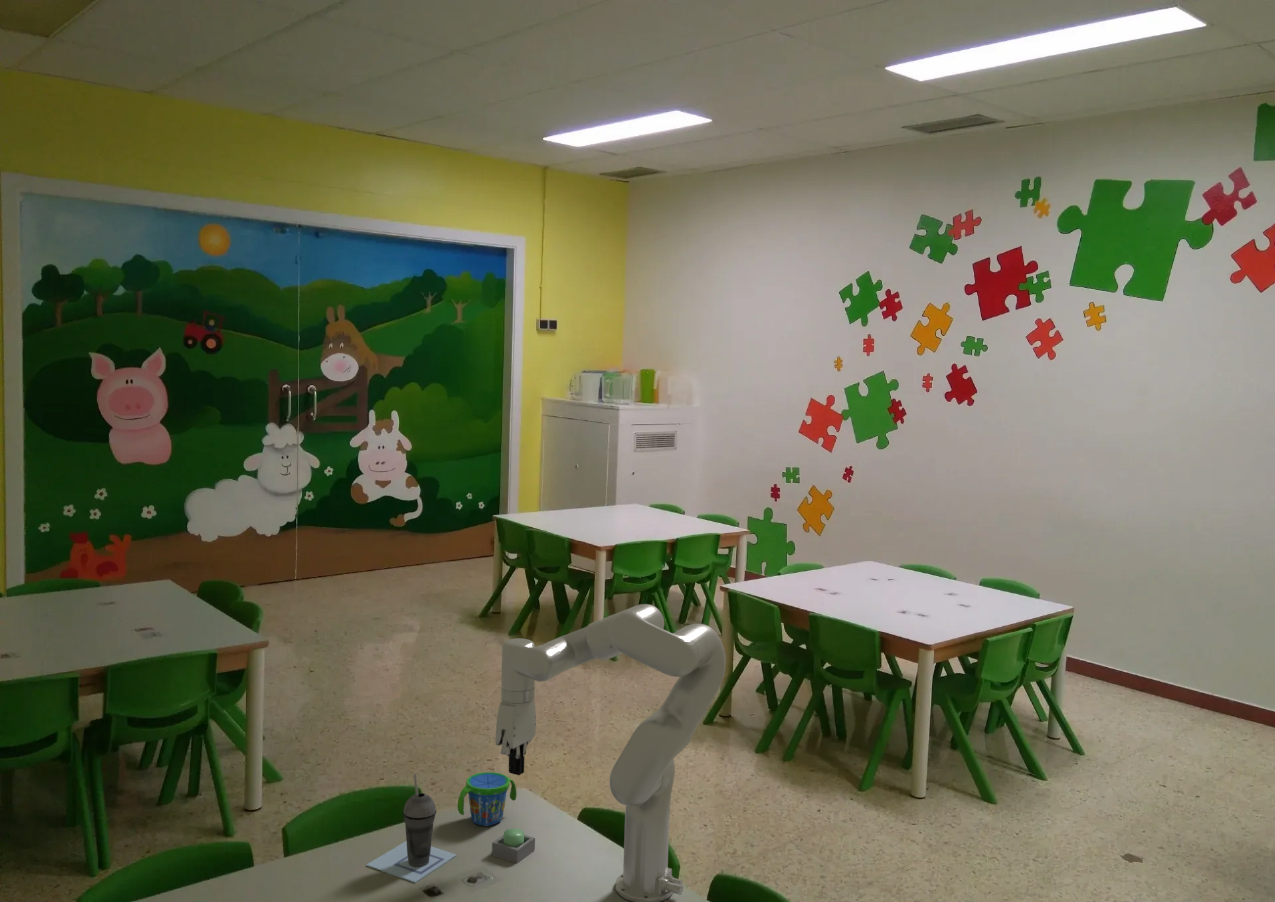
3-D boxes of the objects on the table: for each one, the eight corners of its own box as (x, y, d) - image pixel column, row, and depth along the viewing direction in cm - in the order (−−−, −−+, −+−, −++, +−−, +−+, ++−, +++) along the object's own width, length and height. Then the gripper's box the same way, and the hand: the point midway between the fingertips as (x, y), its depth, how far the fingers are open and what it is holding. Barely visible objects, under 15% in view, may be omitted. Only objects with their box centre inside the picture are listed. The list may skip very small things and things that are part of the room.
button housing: (534, 850, 226) (535, 838, 226) (517, 863, 220) (517, 850, 220) (509, 842, 230) (510, 830, 229) (491, 855, 223) (492, 842, 223)
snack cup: (506, 805, 249) (507, 766, 249) (525, 821, 241) (526, 781, 240) (448, 818, 241) (449, 778, 240) (466, 836, 232) (467, 794, 231)
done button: (527, 848, 226) (528, 831, 225) (515, 856, 222) (516, 839, 221) (511, 843, 228) (511, 826, 228) (499, 851, 224) (499, 834, 224)
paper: (456, 856, 222) (456, 854, 222) (415, 883, 210) (415, 881, 210) (409, 840, 229) (409, 839, 229) (366, 865, 217) (366, 864, 217)
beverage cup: (431, 871, 215) (432, 782, 213) (398, 869, 215) (399, 781, 213) (438, 854, 222) (440, 769, 220) (406, 853, 222) (408, 767, 221)
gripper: (523, 682, 230) (521, 758, 232) (484, 700, 217) (483, 780, 219) (549, 688, 227) (548, 765, 228) (512, 706, 214) (510, 788, 215)
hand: (516, 772), depth 223 cm, fingers closed
